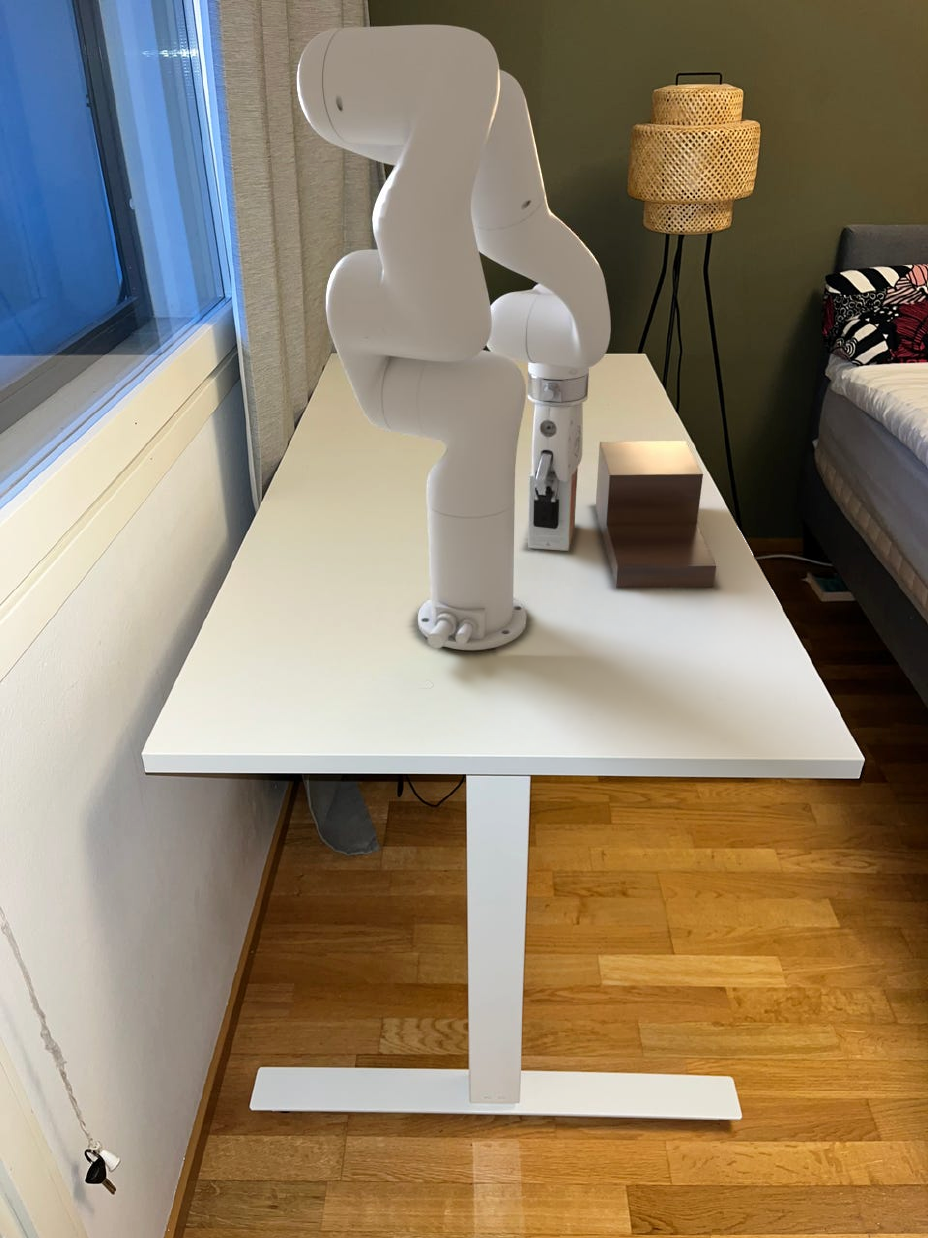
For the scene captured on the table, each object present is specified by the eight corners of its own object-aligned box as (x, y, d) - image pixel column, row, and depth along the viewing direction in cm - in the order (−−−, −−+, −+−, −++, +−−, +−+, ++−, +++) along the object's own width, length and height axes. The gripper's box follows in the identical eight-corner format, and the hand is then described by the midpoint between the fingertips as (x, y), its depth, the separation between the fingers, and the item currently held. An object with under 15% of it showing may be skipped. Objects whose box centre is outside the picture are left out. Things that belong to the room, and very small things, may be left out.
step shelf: (713, 587, 117) (723, 513, 112) (616, 588, 117) (621, 514, 112) (678, 506, 137) (685, 440, 132) (595, 507, 138) (599, 441, 132)
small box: (568, 552, 125) (572, 478, 120) (526, 548, 126) (528, 475, 121) (575, 526, 132) (579, 455, 127) (535, 523, 133) (537, 452, 128)
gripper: (573, 410, 110) (567, 544, 119) (600, 368, 124) (593, 490, 133) (510, 405, 112) (509, 537, 121) (544, 364, 126) (541, 485, 135)
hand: (553, 512), depth 127 cm, fingers closed on small box, 8 cm apart
